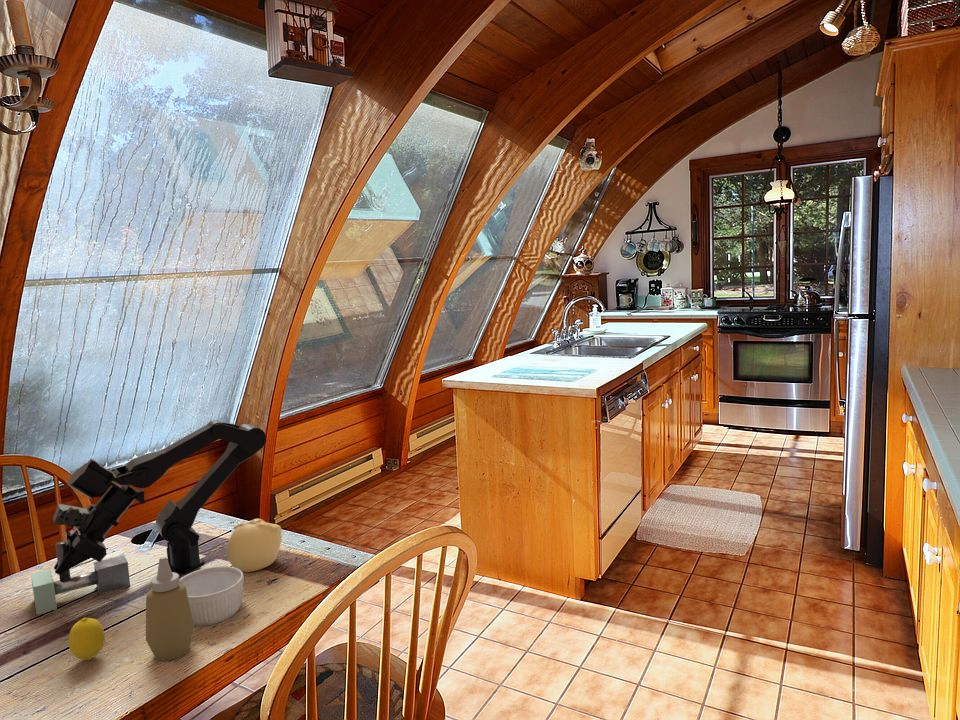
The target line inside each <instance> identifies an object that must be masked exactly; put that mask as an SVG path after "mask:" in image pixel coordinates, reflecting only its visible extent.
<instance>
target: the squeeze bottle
mask: <svg viewBox="0 0 960 720" xmlns="http://www.w3.org/2000/svg"><path fill="white" fill-rule="evenodd" d="M179 579H180V574H178V572H172V571H171V569H170V566H169V563H168V558H167V556H163V557H160V558H159V559H158V567H157V573H156V575H155V576H154V577H152V578H151V579H150V590H149V591H148V592H147V593H146V598H145V641H146V643H147V645H148V647H149V649H150V651H151V652H152V654H153V656H154V658H155V659H156V660H158V661H171V660H174V659H177V658H180V657H182V656H184V655H186V653H188V651H189V650H190V646H191V643H192V639H193V636H194V630H195V625H194V623H193V618H192V614H191V609H190V604H189V600H188V595H187V590H186V587H185V586H184V585H183V584H181V583H180V580H179Z"/></svg>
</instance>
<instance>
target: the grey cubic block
mask: <svg viewBox="0 0 960 720" xmlns="http://www.w3.org/2000/svg"><path fill="white" fill-rule="evenodd" d="M128 562H129V561H128V560H127V559H126V556H125V555H124V554H123V555H119V556H115V557H110V558H107V559H102V561H101V562H98V561H95V562H93V568H94V571H96V572H97V578H98V584H95V585H96V589H97V591H99V592H98V594H99V595H102V594H103V595H104V594H105V593H106V592H107V593H110V592H113V591H117V590H121V589H124V588H123V587H125V588H127V587H126V586H128V587H131V579H130V572H129V571H130V570H129V563H128ZM120 588H121V589H120ZM107 593H106V594H107Z"/></svg>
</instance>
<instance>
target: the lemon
mask: <svg viewBox="0 0 960 720" xmlns="http://www.w3.org/2000/svg"><path fill="white" fill-rule="evenodd" d="M105 639H106V638H105V631H104V627H103V625H102V623H101V622H100V621H99V620H97V619H96V618H93V617H92V618H91V617H83V618H81V619H80V620H78V621H77V622H76V623H75V624H73V626H72V627H71V629H70V631H69V635H68V647H69V648H68V649H69V650H70V652H71V654H72V656H74V657H75V658H76V659H80V660H87V661H90V660H92V658H93V657H95V656H96V655H98V654H99V653H100V652H101V650H102V649H103V648H104V647H103V646H104V643H105Z"/></svg>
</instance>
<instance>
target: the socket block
mask: <svg viewBox="0 0 960 720" xmlns="http://www.w3.org/2000/svg"><path fill="white" fill-rule="evenodd" d="M30 576H31V584H32V585H31V586H32V594H33V600H34V605H35V611H36V615H42V614H45V612H46V613H48V612H51V611H52V610H53V611H56V610H58V606H57V598H56V597H57V596H56V595H55V589H54V582H55V581H54V578H53V574H52V570H51V568H49V569H44V570H41V571H35V572H33V573H31V574H30ZM53 611H52V612H53Z"/></svg>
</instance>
